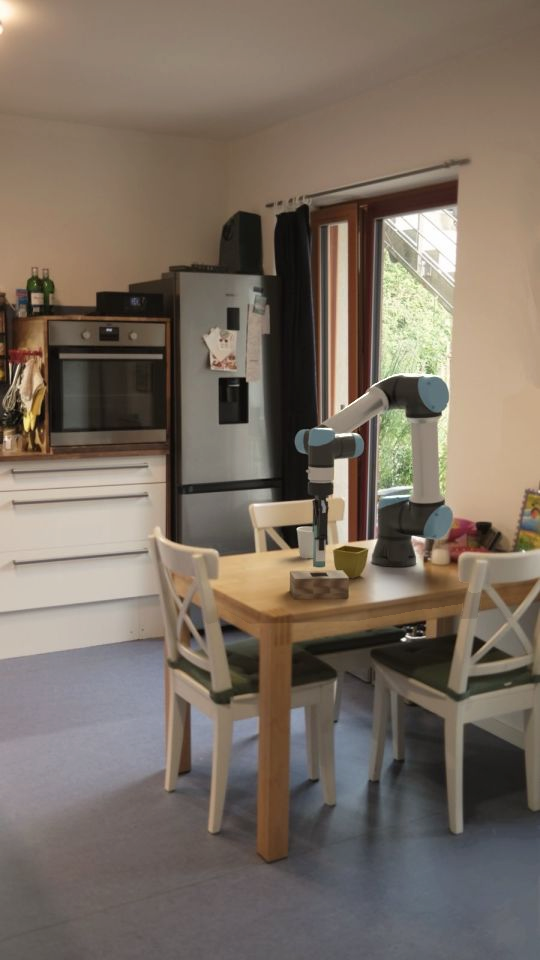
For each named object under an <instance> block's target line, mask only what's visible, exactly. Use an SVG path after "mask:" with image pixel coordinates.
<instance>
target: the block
mask: <svg viewBox="0 0 540 960" xmlns="http://www.w3.org/2000/svg"><path fill="white" fill-rule="evenodd" d="M349 585H350V578H349V577H348V576H347V575H346V574H345V573H344V572H343V570H336V569H335V570H333V569H332V570H290V571H289V592H290V594H291V595H292V598H293V599H294V600H310V599H311V600H312V599H313V600H314V599H315V600H316V599H317V600H319V599H349V597H350V596H349V595H350V594H349V591H350V589H349V587H350V586H349Z"/></svg>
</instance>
